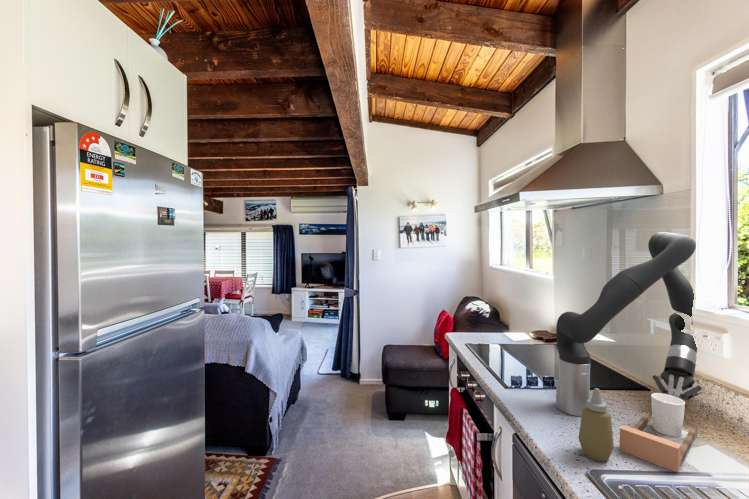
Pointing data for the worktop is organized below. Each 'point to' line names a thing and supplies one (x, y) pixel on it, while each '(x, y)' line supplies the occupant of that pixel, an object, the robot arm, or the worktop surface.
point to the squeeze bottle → (596, 429)
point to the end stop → (650, 448)
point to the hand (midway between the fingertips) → (672, 408)
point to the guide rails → (686, 442)
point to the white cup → (667, 414)
